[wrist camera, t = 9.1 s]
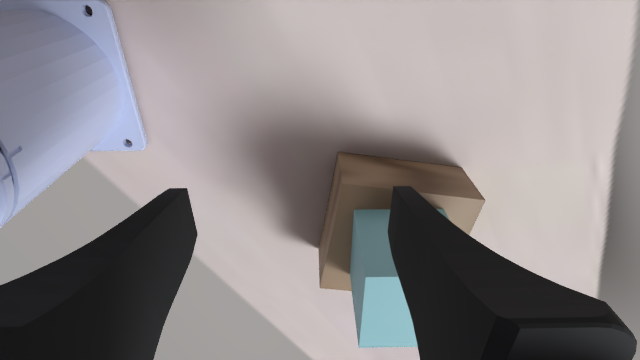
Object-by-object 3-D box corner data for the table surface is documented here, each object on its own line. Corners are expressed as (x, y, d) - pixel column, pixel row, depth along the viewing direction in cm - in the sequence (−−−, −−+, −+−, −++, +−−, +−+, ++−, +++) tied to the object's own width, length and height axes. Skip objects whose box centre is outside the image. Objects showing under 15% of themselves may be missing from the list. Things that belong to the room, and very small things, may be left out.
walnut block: (318, 245, 27) (319, 288, 23) (337, 149, 22) (342, 183, 19) (422, 256, 27) (438, 298, 24) (459, 165, 23) (485, 200, 20)
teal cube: (349, 274, 23) (358, 347, 18) (353, 209, 20) (365, 277, 16) (429, 273, 23) (456, 345, 18) (443, 208, 20) (479, 275, 16)
